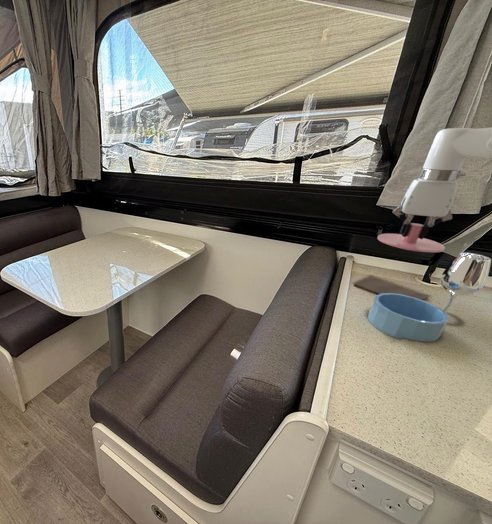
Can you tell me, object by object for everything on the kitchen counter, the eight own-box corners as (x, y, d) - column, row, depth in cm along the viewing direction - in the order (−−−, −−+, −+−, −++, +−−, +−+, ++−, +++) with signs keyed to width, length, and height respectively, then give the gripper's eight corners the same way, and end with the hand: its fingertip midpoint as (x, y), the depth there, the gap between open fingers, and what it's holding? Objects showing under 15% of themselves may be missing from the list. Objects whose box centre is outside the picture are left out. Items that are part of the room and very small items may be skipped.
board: (426, 298, 89) (427, 295, 88) (410, 307, 84) (411, 305, 83) (371, 278, 102) (371, 276, 101) (353, 285, 97) (354, 283, 96)
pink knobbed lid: (452, 248, 83) (463, 227, 80) (430, 258, 76) (440, 235, 73) (390, 234, 95) (397, 215, 93) (366, 241, 89) (373, 221, 86)
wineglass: (459, 331, 73) (498, 265, 65) (420, 318, 78) (451, 255, 70) (461, 320, 77) (498, 256, 69) (424, 308, 83) (454, 248, 75)
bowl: (446, 333, 72) (458, 313, 70) (422, 351, 66) (434, 330, 64) (382, 306, 84) (390, 288, 82) (357, 320, 78) (364, 301, 76)
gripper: (473, 176, 76) (443, 237, 83) (397, 173, 84) (376, 229, 91) (485, 179, 70) (452, 245, 78) (402, 175, 78) (379, 235, 86)
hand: (411, 236), depth 84 cm, fingers closed on pink knobbed lid, 3 cm apart
